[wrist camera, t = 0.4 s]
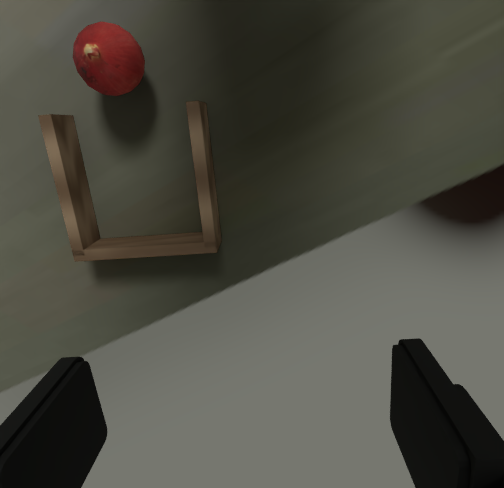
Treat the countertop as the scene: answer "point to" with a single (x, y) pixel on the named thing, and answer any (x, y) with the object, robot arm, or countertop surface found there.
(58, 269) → the countertop surface
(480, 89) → the countertop surface
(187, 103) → the wooden tray
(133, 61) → the onion
